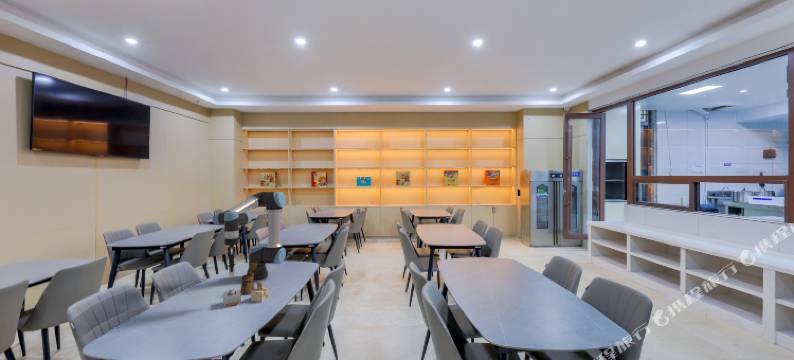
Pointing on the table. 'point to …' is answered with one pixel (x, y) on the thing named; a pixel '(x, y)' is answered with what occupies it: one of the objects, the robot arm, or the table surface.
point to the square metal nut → (231, 297)
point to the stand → (259, 293)
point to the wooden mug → (248, 280)
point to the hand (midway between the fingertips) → (231, 276)
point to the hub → (232, 292)
